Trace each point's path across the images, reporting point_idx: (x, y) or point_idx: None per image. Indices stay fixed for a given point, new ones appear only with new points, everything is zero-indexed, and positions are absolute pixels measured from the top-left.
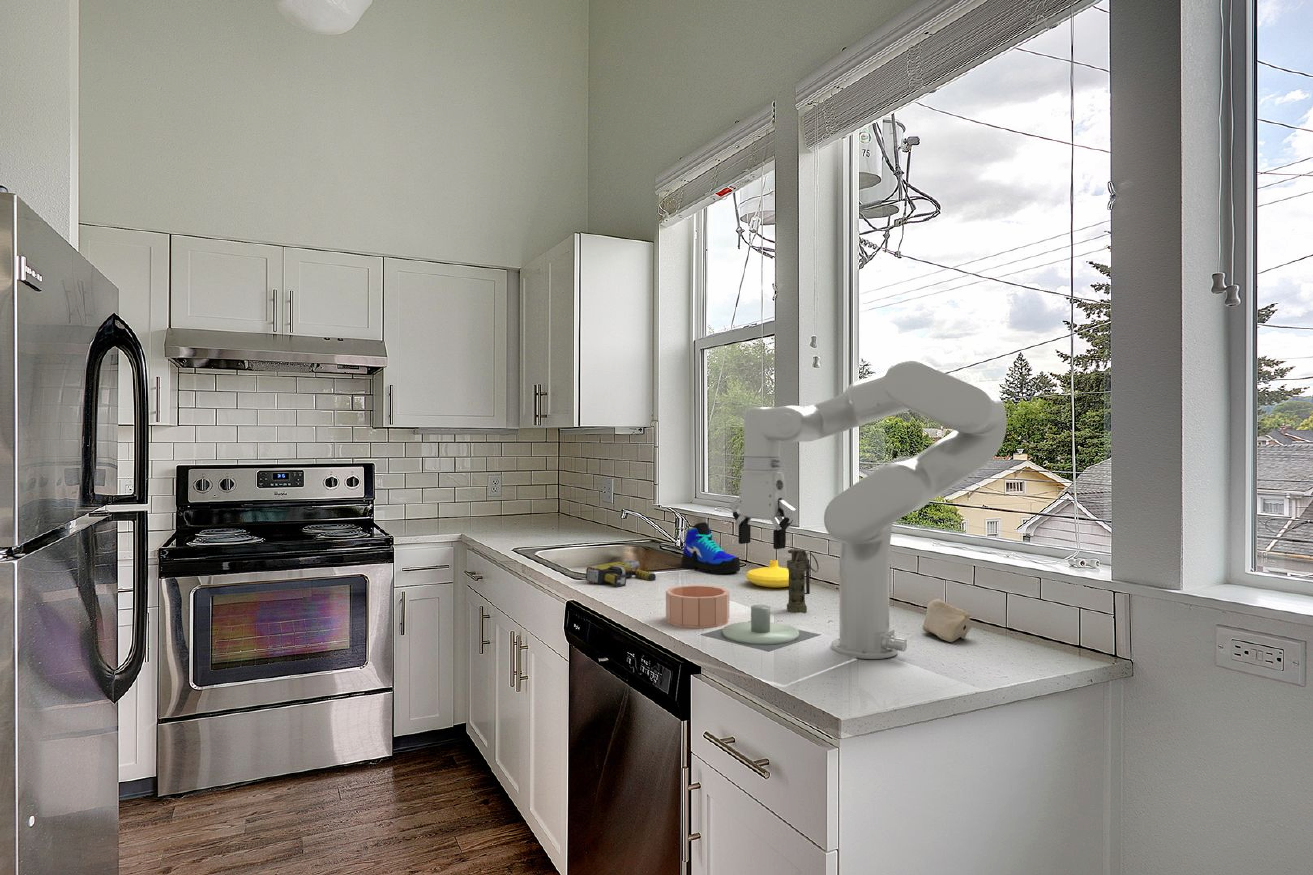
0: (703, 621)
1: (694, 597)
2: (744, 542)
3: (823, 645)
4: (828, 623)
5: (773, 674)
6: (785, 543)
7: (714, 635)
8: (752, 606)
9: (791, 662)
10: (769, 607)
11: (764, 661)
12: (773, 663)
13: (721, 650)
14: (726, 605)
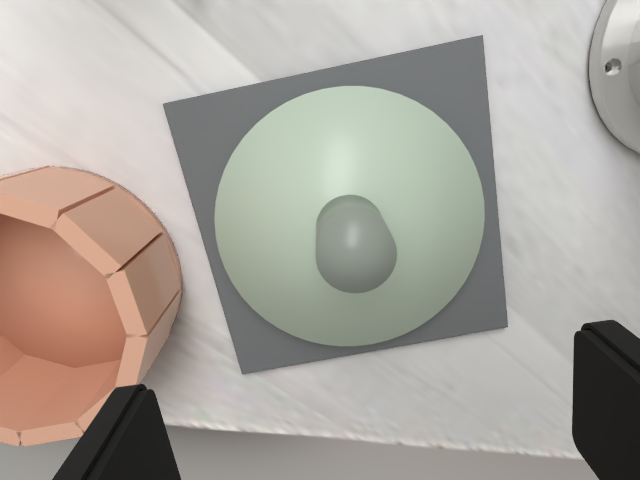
0: (167, 331)
1: None
2: (172, 461)
3: (557, 116)
4: None
5: None
6: (634, 335)
7: (275, 347)
8: (328, 276)
9: None
10: (384, 229)
11: (545, 373)
12: None
13: (395, 400)
14: (139, 249)
